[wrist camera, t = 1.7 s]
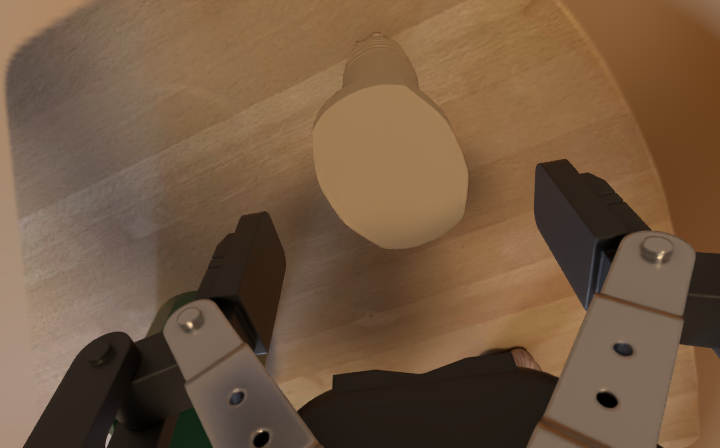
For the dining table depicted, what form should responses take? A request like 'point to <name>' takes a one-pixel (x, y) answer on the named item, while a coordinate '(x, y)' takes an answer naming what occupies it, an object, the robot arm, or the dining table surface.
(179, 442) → the cup
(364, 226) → the handle
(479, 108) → the dining table surface
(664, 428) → the dining table surface
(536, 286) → the dining table surface
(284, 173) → the dining table surface
